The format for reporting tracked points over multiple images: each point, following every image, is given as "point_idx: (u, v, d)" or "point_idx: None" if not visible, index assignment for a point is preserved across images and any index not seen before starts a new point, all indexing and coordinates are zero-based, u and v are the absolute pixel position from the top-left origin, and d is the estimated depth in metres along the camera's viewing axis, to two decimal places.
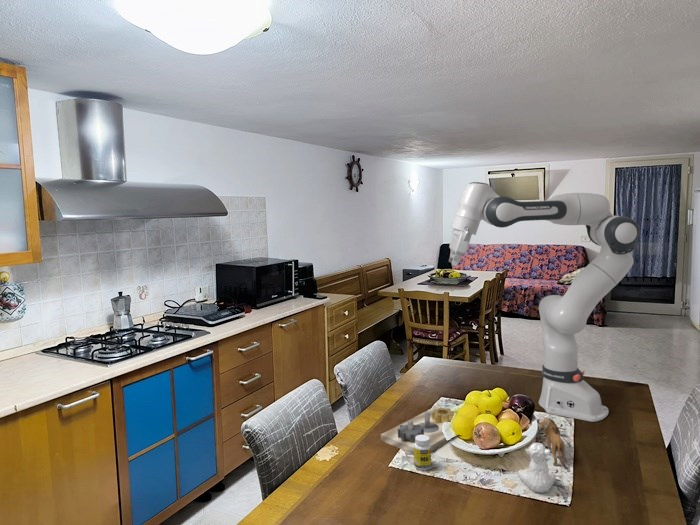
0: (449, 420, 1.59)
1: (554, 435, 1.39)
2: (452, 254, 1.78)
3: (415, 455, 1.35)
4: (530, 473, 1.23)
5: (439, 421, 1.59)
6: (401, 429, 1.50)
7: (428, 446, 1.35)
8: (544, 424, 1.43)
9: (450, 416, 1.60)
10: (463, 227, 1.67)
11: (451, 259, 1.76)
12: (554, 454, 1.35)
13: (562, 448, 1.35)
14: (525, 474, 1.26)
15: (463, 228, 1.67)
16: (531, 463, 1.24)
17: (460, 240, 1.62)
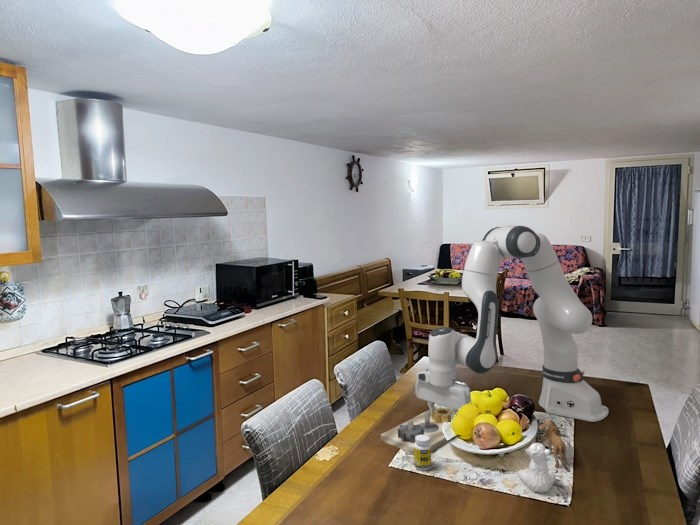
0: (449, 420, 1.59)
1: (555, 437, 1.38)
2: (431, 405, 1.64)
3: (415, 455, 1.35)
4: (530, 473, 1.23)
5: (439, 421, 1.59)
6: (401, 429, 1.50)
7: (428, 446, 1.35)
8: (545, 426, 1.42)
9: None
10: (451, 381, 1.57)
11: None
12: (555, 456, 1.34)
13: (563, 450, 1.34)
14: (525, 474, 1.26)
15: (451, 382, 1.57)
16: (531, 463, 1.24)
17: (465, 399, 1.53)
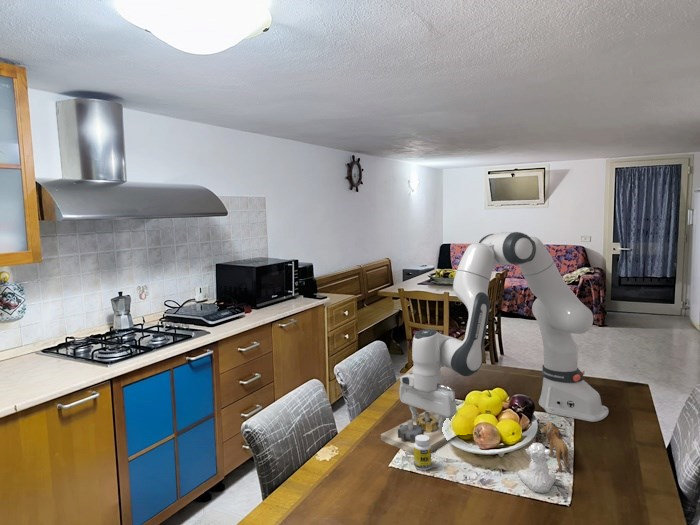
0: (434, 428, 1.53)
1: (557, 440, 1.36)
2: (413, 409, 1.59)
3: (415, 455, 1.35)
4: (530, 473, 1.23)
5: None
6: (401, 429, 1.50)
7: (428, 446, 1.35)
8: (546, 429, 1.40)
9: (435, 424, 1.54)
10: (435, 386, 1.51)
11: (416, 415, 1.58)
12: (558, 460, 1.32)
13: (566, 453, 1.32)
14: (525, 474, 1.26)
15: (436, 386, 1.51)
16: (531, 463, 1.24)
17: (450, 404, 1.47)
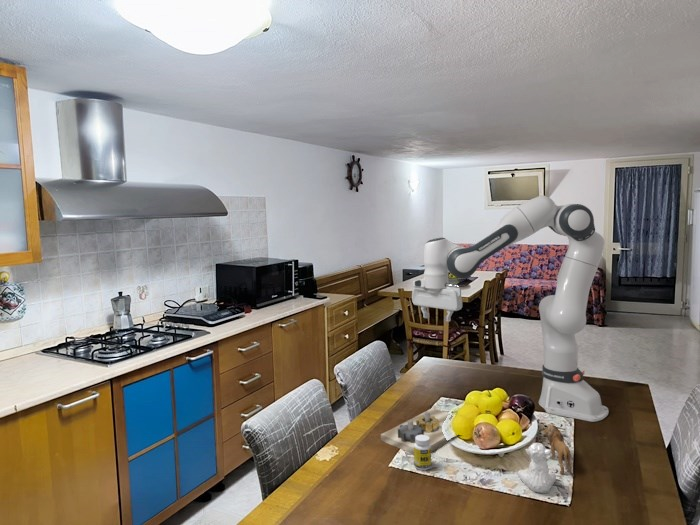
0: (434, 428, 1.53)
1: (559, 442, 1.35)
2: (424, 310, 1.82)
3: (415, 455, 1.35)
4: (530, 473, 1.23)
5: None
6: (401, 429, 1.50)
7: (428, 446, 1.35)
8: (548, 431, 1.39)
9: (435, 424, 1.54)
10: (444, 284, 1.74)
11: (427, 315, 1.81)
12: (561, 462, 1.30)
13: (568, 456, 1.31)
14: (525, 474, 1.26)
15: (444, 285, 1.74)
16: (531, 463, 1.24)
17: (457, 298, 1.70)
